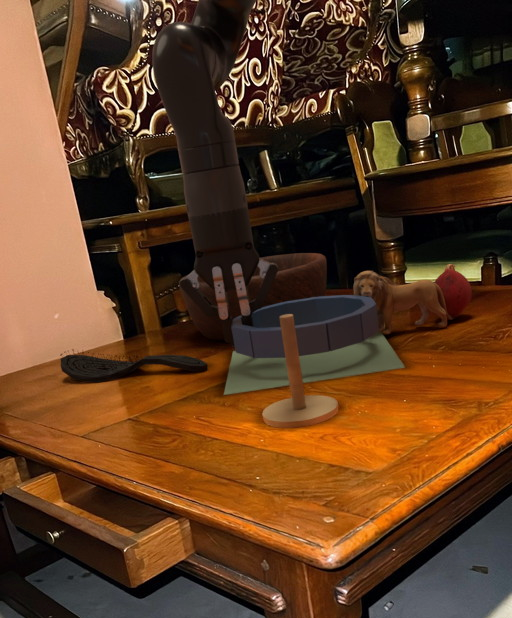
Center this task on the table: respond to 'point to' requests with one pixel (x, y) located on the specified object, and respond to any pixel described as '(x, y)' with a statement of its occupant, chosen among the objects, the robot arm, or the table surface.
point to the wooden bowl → (286, 287)
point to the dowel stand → (297, 390)
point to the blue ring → (308, 326)
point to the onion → (454, 291)
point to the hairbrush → (121, 365)
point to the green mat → (312, 366)
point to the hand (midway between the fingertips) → (240, 343)
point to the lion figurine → (400, 298)
